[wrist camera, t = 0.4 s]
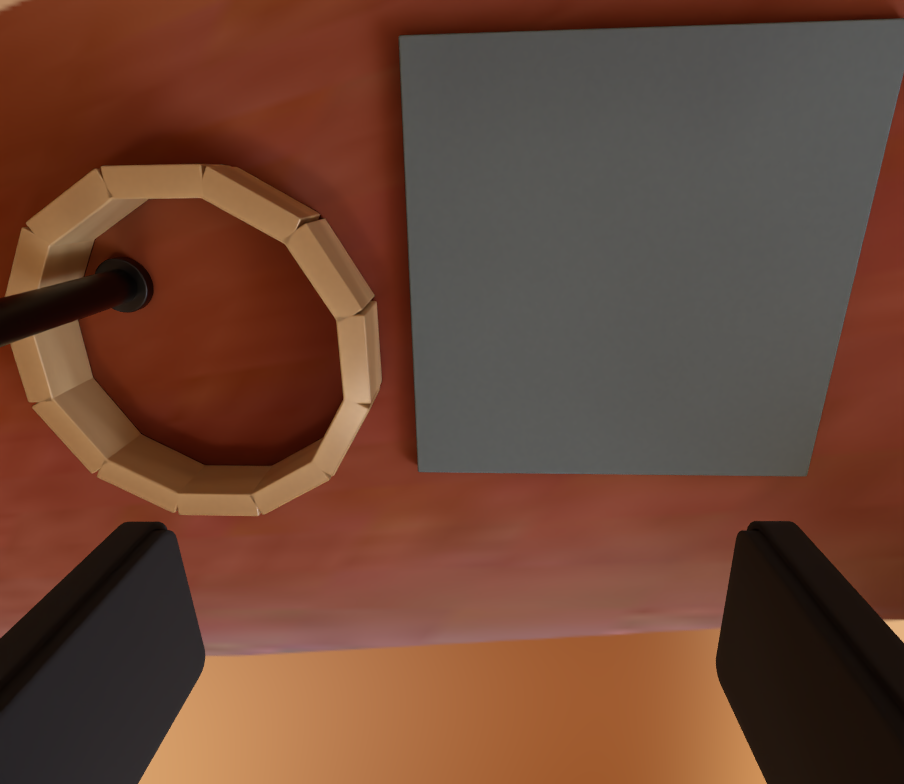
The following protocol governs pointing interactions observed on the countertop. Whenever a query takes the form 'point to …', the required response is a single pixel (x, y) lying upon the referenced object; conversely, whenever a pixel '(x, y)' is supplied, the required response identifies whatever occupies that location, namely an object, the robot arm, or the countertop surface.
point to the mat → (637, 240)
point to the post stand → (75, 299)
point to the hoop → (96, 415)
